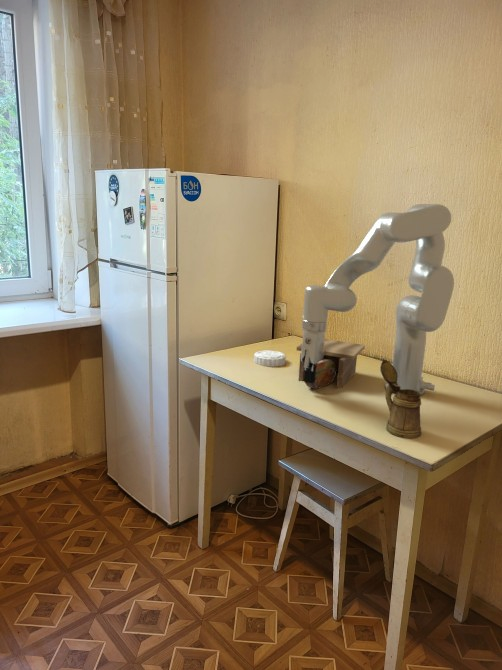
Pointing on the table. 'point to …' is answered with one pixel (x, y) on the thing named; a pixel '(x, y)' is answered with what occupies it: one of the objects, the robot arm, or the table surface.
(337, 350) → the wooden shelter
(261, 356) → the mooncake
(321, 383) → the tin
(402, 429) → the wooden mug
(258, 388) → the table surface
